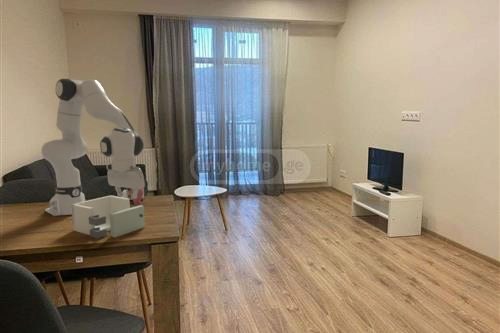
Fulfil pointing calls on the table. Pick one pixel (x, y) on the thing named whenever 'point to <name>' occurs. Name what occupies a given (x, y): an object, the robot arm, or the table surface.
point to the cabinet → (97, 214)
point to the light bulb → (139, 196)
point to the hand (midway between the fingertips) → (127, 197)
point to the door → (127, 220)
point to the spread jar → (127, 194)
